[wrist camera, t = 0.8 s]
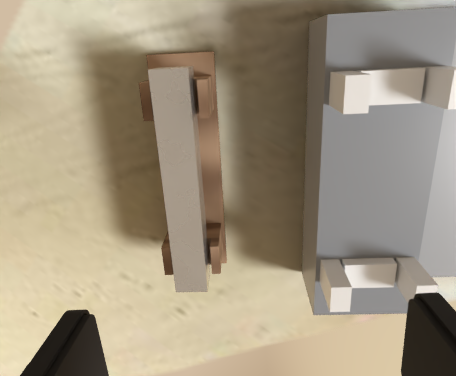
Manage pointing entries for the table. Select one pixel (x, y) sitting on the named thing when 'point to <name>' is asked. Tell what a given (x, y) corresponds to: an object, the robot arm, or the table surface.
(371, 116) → the equipment case
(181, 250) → the bar
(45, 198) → the table surface
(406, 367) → the robot arm
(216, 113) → the bar stand
